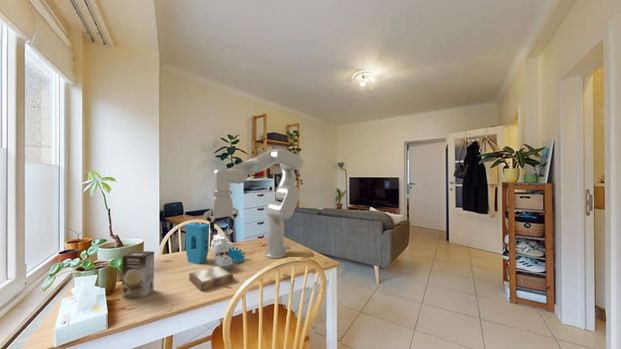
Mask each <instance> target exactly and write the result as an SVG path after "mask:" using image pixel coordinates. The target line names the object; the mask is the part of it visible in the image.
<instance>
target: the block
mask: <svg viewBox="0 0 621 349" xmlns="http://www.w3.org/2000/svg"><path fill="white" fill-rule="evenodd" d="M209 230H210V224H205V223H204V224H203V223H198V222H197V223H196V222H191V223H186V224H185V252H186V258H187V259H186V260H187V262H188V263H191V264H196V265H202V264H204V263H206V262H207V259H208V254H209V247H210V246H209V242H210V240H209V238H210V237H209V236H210V234H209V233H210V232H209Z"/></svg>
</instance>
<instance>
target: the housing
mask: <svg viewBox="0 0 621 349" xmlns="http://www.w3.org/2000/svg"><path fill="white" fill-rule="evenodd" d="M214 259H215V260H214V261H215V262H214V267H216V266H221V267H222V268H224V269H225V270H227V271H228V272H230V271H232V270H233V261H232V257H229V256H228V255H226V253H225V254H224V253H223V254H219V255H216V256H215V258H214Z"/></svg>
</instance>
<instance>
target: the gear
mask: <svg viewBox="0 0 621 349" xmlns="http://www.w3.org/2000/svg"><path fill="white" fill-rule="evenodd" d="M227 254H228V255H227V256H229V257H230V258H232V262H233V264H241V263H242V262H244V259H245V258H246V257H245V256H244V255H245V254H246V251H243V250H242V249H239V247H238V246H236V247H235V246H233V247H231V248H230V249H229V251H227Z"/></svg>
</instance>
